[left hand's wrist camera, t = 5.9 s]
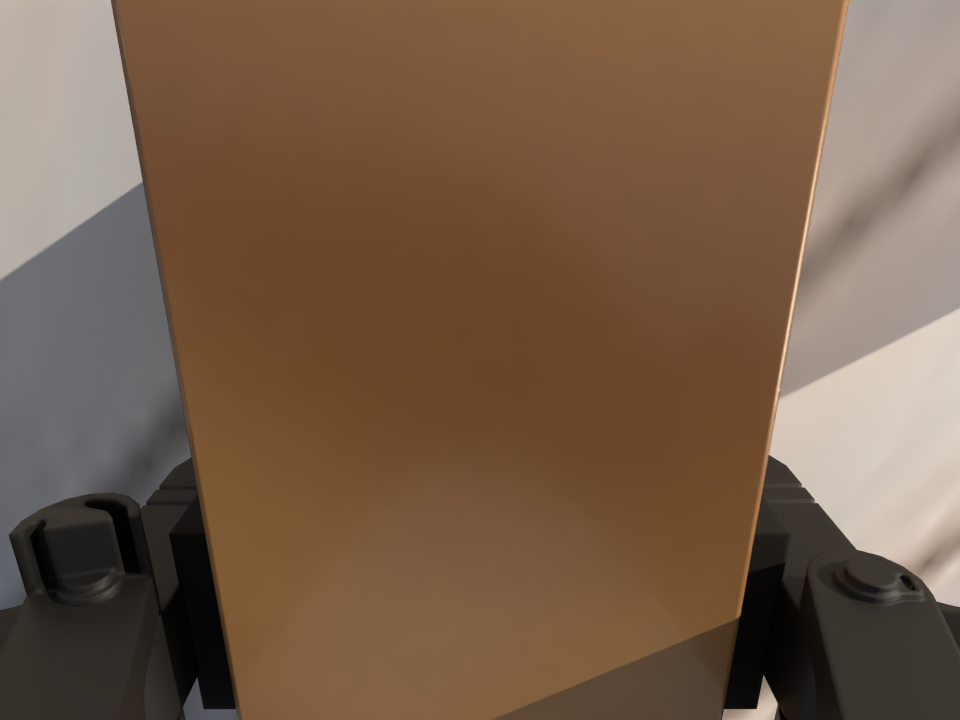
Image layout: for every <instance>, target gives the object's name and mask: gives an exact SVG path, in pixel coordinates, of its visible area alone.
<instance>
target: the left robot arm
mask: <svg viewBox="0 0 960 720" xmlns="http://www.w3.org/2000/svg"><path fill="white" fill-rule="evenodd" d="M9 537H10V541H11V544H12V547H13V551H14V554H15V557H16V561H17V564H18V567H19V570H20V574H21V577H22V580H23V584H24V587H25V590H26V593H27V597H26V599H25V601H24V603H23V605H21V606H17V607H13V608H9V609H4V610H0V720H185V715H184V710H183V705H184V703H185V701H186V699H187V697H188V695H189V693H190V691H191V689H192V687H193V685H194V683H195V681H196V678H197V677H198V682H199V687H200V692H201V697H202V702H203V707H204V709H236V705H235V699H234V694H233V688H232V682H231V677H230V671H229V665H228V660H227V654H226V648H225V643H224V637H223V631H222V626H221V620H220V614H219V609H218V603H217V597H216V592H215V586H214V580H213V575H212V569H211V564H210V558H209V552H208V547H207V541H206V535H205V530H204V524H203V518H202V513H201V507H200V501H199V496H198V490H197V484H196V479H195V473H194V467H193V462H192V457H191V458H190V459H188V460H187V461H185V462H183V463H182V464H180V465H178V466H177V467H175V468H174V469H173V470H172V472H171V473H170V474H169V475H168V476H167V478H166V479H165V480H164V481H163V483H162V484H161V485H160V486H159V490H156V491H155V492H154V493H153V495H152V496H151V497H150V498H149V499H148V501H147V504H146V506H143V507H142V508H141V509H140V506H139V504H138V503H137V502H136V501H134V500H133V499H132V498H130V497H129V496H124V495H119V494H114V493H102V494H88V495H84V496H79V497H75V498H70V499H66V500H63V501H60V502H58V503H55V504H53V505H50V506H48V507H45V508H43V509H41V510H39V511H37V512H36V513H34V514H33V515H31V516H29V517H28V518H26V519H25V520H23V521H21V522H20V524H19V525H18V526H17V527H16V528H15V529H14V530H13V531H12V532H11V533H10V534H9ZM763 674H764V676H765V678H766V680H767V682H768V684H769V686H770V688H771V690H772V692H773V694H774V697H775V699H776V701H777V703H778V706H777V710H776V715H775V720H960V607H956V606H951V605H947V604H944V603H940V602H936V600H935V598H934V596H933V594H932V593H931V591H930V590H929V589H928V588H927V586H926V585H925V584H924V582H923V581H922V580H921V579H920V578H918V577H917V576H915V575H914V574H913V573H911V572H910V571H909V570H907V569H906V568H904V567H903V566H901V565H899V564H897V563H894V562H892V561H890V560H888V559H886V558H884V557H881V556H879V555H875V554H871V553H867V552H863V551H859V550H856V549H855V547H854V546H853V545H852V544H851V543H850V541H849V540H848V539H847V538H846V537H845V535H844V534H843V533H842V532H841V531H840V529H839V528H838V527H837V526H836V525H835V523H834V522H833V521H832V520H831V519H830V517H829V516H828V515H827V514H826V513H825V511H824V510H823V509H822V508H821V507H820V505H819V504H818V503H815V502H814V498H813V497H812V496H811V495H810V493H809V492H808V491H807V490H806V489H805V488H802V484H801V483H800V481H799V480H798V479H797V478H796V477H795V475H794V474H793V473H792V472H791V471H790V469H789V468H788V467H787V466H786V465H784V464H783V463H781V462H780V461H778V460H776V459H775V458H773V457H772V456H770V455H769V456H768V461H767V467H766V473H765V478H764V484H763V490H762V495H761V501H760V507H759V512H758V518H757V524H756V529H755V535H754V541H753V546H752V552H751V558H750V563H749V569H748V575H747V580H746V586H745V592H744V597H743V603H742V609H741V614H740V620H739V625H738V631H737V637H736V642H735V648H734V654H733V659H732V665H731V671H730V676H729V682H728V688H727V693H726V699H725V705H724V709H757V704H758V699H759V694H760V689H761V684H762V679H763Z"/></svg>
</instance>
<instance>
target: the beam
mask: <svg viewBox="0 0 960 720" xmlns="http://www.w3.org/2000/svg"><path fill="white" fill-rule="evenodd" d="M848 3H849V0H111V4H112V9H113V15H114V21H115V26H116V32H117V37H118V43H119V49H120V54H121V60H122V66H123V71H124V77H125V83H126V88H127V94H128V100H129V105H130V111H131V117H132V122H133V128H134V134H135V139H136V145H137V151H138V156H139V162H140V168H141V173H142V179H143V185H144V190H145V196H146V202H147V207H148V213H149V218H150V224H151V230H152V235H153V241H154V247H155V252H156V258H157V264H158V269H159V275H160V281H161V286H162V292H163V298H164V303H165V309H166V315H167V320H168V326H169V332H170V337H171V343H172V349H173V354H174V360H175V366H176V371H177V377H178V383H179V388H180V394H181V399H182V405H183V411H184V416H185V422H186V428H187V433H188V439H189V445H190V450H191V456H192V462H193V467H194V473H195V479H196V484H197V490H198V496H199V501H200V507H201V513H202V518H203V524H204V530H205V535H206V541H207V547H208V552H209V558H210V564H211V569H212V575H213V580H214V586H215V592H216V597H217V603H218V609H219V614H220V620H221V626H222V631H223V637H224V643H225V648H226V654H227V660H228V665H229V671H230V677H231V682H232V688H233V694H234V699H235V705H236V711H237V716H238V720H722V716H723V710H724V705H725V699H726V693H727V688H728V682H729V676H730V671H731V665H732V659H733V654H734V648H735V642H736V637H737V631H738V625H739V620H740V614H741V609H742V603H743V597H744V592H745V586H746V580H747V575H748V569H749V563H750V558H751V552H752V546H753V541H754V535H755V529H756V524H757V518H758V512H759V507H760V501H761V495H762V490H763V484H764V478H765V473H766V467H767V461H768V456H769V450H770V445H771V439H772V433H773V428H774V422H775V416H776V411H777V405H778V399H779V394H780V388H781V382H782V377H783V371H784V365H785V360H786V354H787V348H788V343H789V337H790V331H791V326H792V320H793V314H794V309H795V303H796V298H797V292H798V286H799V281H800V275H801V269H802V264H803V258H804V252H805V247H806V241H807V235H808V230H809V224H810V218H811V213H812V207H813V201H814V196H815V190H816V184H817V179H818V173H819V167H820V162H821V156H822V150H823V145H824V139H825V134H826V128H827V122H828V117H829V111H830V105H831V100H832V94H833V88H834V83H835V77H836V71H837V66H838V60H839V54H840V49H841V43H842V37H843V32H844V26H845V20H846V15H847V9H848Z"/></svg>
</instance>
